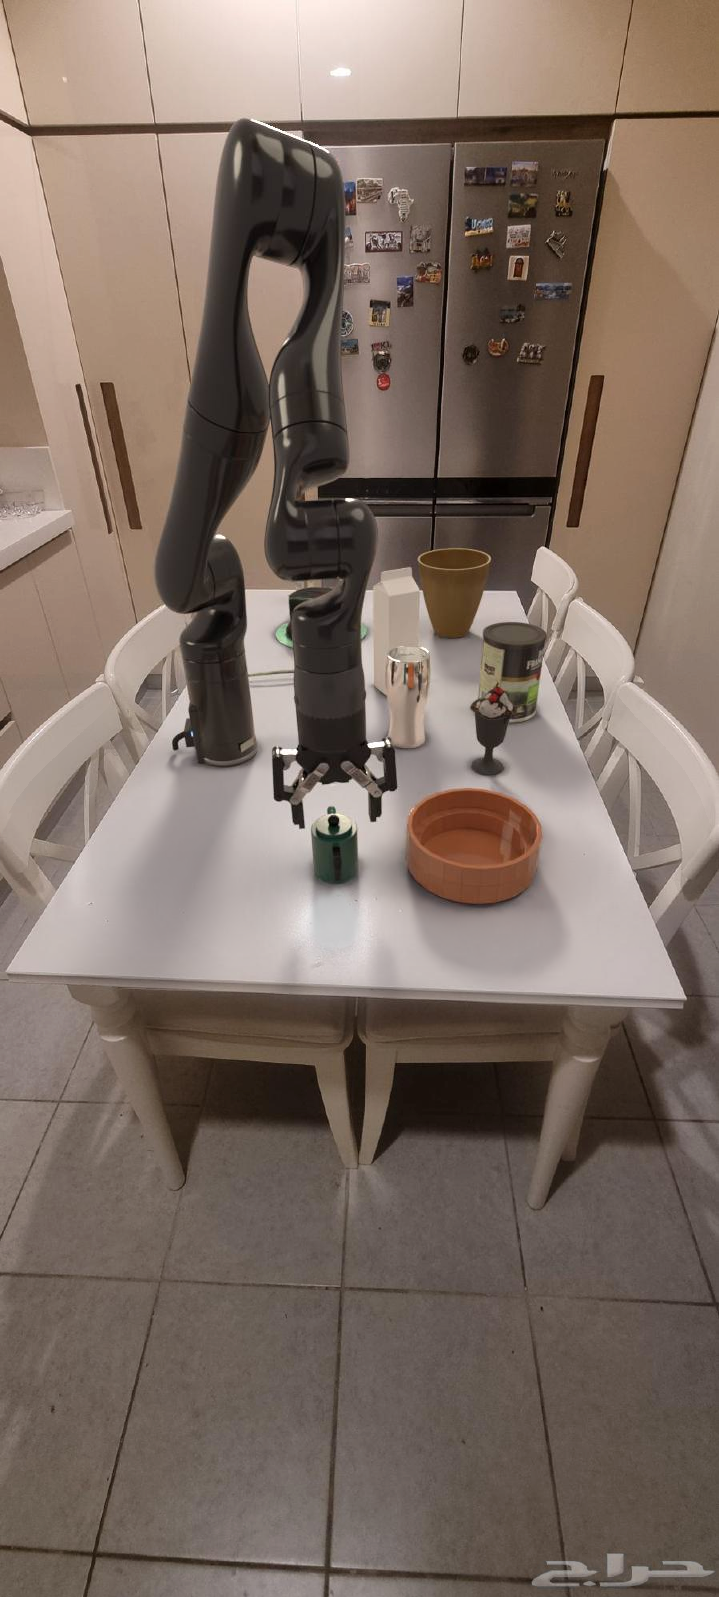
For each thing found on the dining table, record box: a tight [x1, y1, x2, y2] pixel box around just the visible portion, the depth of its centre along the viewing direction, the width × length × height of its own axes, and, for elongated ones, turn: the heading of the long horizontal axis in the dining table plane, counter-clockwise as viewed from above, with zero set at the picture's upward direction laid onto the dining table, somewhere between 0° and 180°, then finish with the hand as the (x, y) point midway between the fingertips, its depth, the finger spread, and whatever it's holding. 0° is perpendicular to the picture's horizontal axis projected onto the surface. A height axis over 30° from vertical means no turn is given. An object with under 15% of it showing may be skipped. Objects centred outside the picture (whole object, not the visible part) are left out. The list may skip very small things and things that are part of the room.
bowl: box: [405, 787, 543, 905], centre depth 86 cm, size 16×16×6 cm
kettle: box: [310, 805, 359, 885], centre depth 86 cm, size 10×6×8 cm, turn 6°
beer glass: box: [385, 645, 431, 749], centre depth 110 cm, size 7×7×15 cm
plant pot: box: [417, 547, 492, 639], centre depth 148 cm, size 15×15×16 cm
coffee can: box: [477, 621, 548, 724], centre depth 118 cm, size 10×10×14 cm
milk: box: [372, 566, 421, 697], centre depth 123 cm, size 6×6×22 cm
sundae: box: [469, 682, 517, 776], centre depth 102 cm, size 7×7×15 cm
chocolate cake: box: [275, 585, 368, 649], centre depth 152 cm, size 15×19×20 cm
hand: (337, 821), depth 84 cm, fingers open, 8 cm apart
